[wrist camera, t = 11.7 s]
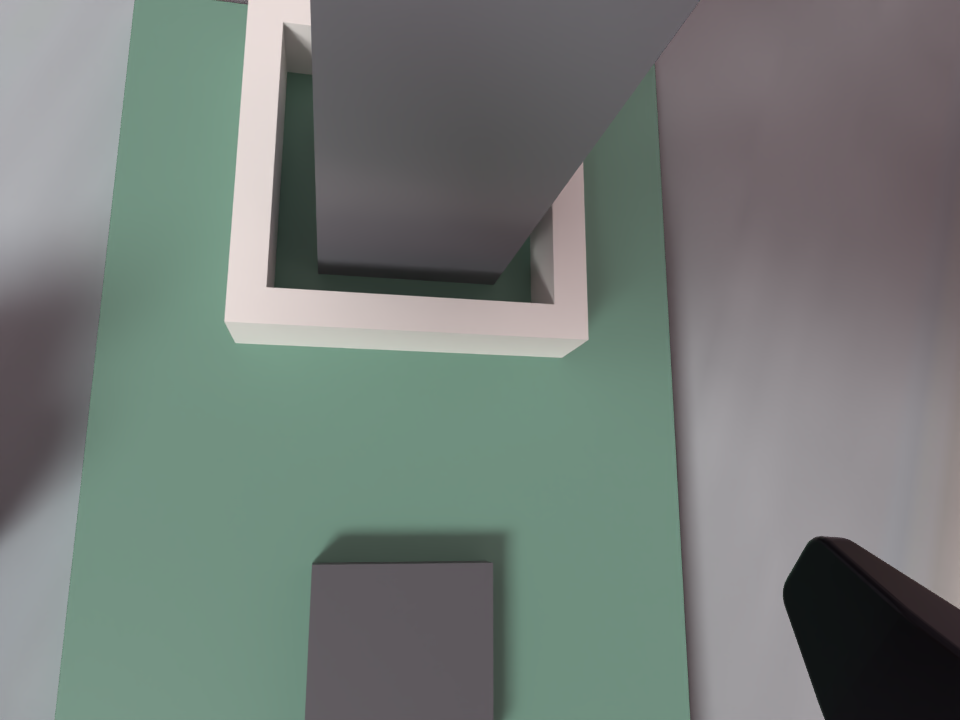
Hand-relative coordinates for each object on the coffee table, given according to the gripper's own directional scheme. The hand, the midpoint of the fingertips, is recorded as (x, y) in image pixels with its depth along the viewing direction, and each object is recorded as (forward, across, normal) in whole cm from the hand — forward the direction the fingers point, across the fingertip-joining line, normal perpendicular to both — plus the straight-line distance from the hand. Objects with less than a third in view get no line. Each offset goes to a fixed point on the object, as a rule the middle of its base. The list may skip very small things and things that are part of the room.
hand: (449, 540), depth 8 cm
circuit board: (+10, -1, +5) cm, 11 cm away
